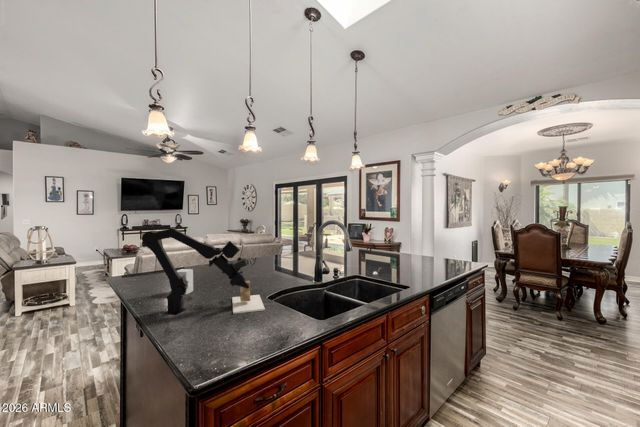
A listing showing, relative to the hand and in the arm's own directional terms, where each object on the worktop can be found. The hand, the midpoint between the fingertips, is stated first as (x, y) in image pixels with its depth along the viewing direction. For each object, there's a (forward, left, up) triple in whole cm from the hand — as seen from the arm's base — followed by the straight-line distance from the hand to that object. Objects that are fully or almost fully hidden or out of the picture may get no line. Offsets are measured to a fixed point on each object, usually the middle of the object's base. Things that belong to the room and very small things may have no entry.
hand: (248, 286), depth 137 cm
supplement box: (+10, +44, -9) cm, 46 cm away
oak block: (-1, +1, -7) cm, 7 cm away
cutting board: (0, 0, -9) cm, 9 cm away
